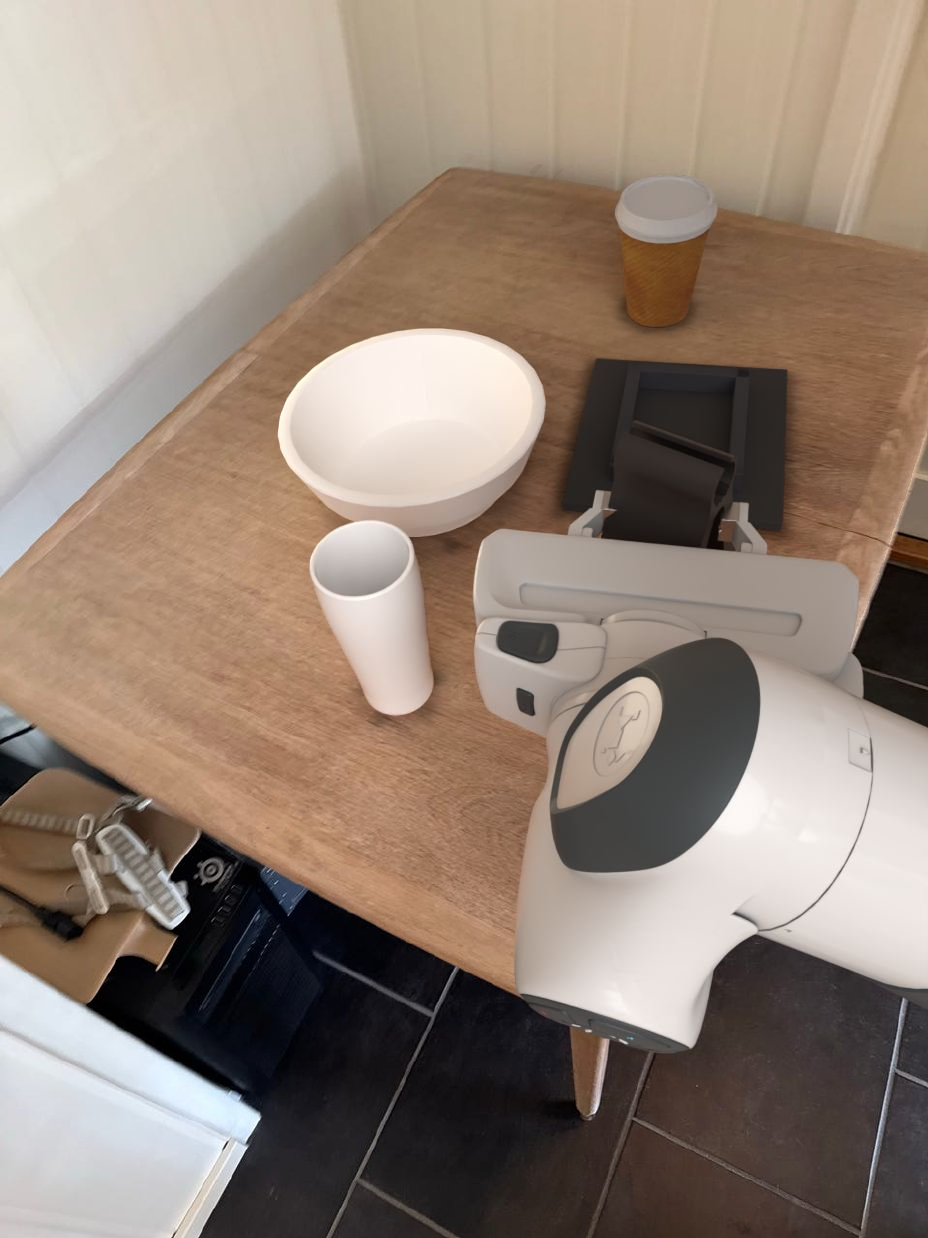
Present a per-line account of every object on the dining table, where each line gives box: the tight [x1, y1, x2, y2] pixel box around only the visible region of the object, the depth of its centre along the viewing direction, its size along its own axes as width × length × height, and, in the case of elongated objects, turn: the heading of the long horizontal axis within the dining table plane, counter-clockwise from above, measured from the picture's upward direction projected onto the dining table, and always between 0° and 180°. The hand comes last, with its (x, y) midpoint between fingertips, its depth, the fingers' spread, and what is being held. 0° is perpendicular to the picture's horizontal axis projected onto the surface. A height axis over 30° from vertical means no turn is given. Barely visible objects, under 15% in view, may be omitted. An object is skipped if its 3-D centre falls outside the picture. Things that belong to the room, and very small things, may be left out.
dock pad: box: [561, 357, 789, 532], centre depth 78 cm, size 18×20×3 cm
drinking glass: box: [308, 520, 435, 716], centre depth 60 cm, size 7×7×15 cm
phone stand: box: [600, 421, 738, 552], centre depth 52 cm, size 9×6×12 cm, turn 143°
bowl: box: [277, 327, 547, 538], centre depth 76 cm, size 22×22×8 cm
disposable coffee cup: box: [614, 173, 718, 328], centre depth 87 cm, size 10×10×12 cm
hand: (669, 503), depth 52 cm, fingers closed on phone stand, 6 cm apart
